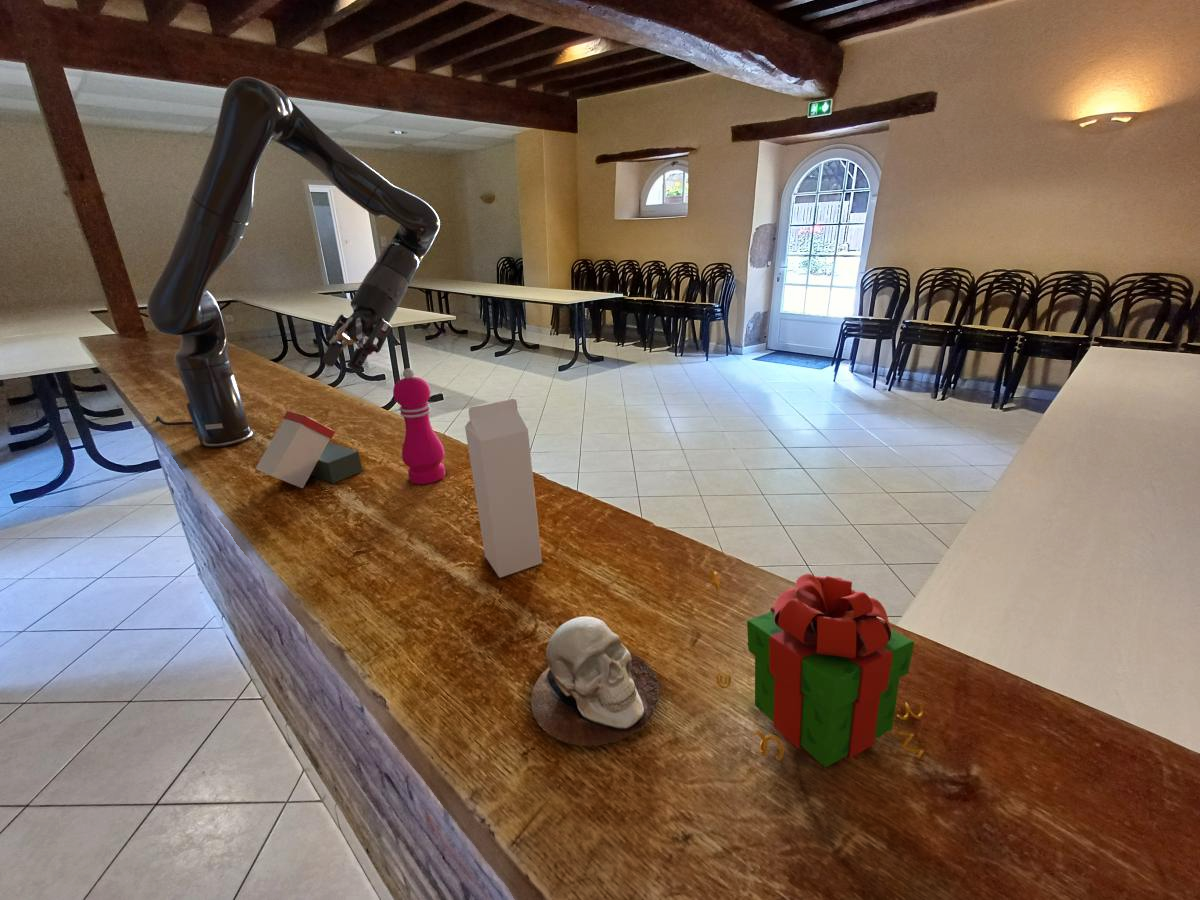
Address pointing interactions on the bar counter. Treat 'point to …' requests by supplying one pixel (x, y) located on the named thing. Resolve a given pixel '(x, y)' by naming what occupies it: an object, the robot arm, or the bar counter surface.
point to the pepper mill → (418, 430)
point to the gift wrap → (827, 669)
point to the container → (295, 449)
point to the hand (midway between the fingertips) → (339, 366)
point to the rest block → (337, 463)
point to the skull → (592, 686)
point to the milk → (504, 486)
